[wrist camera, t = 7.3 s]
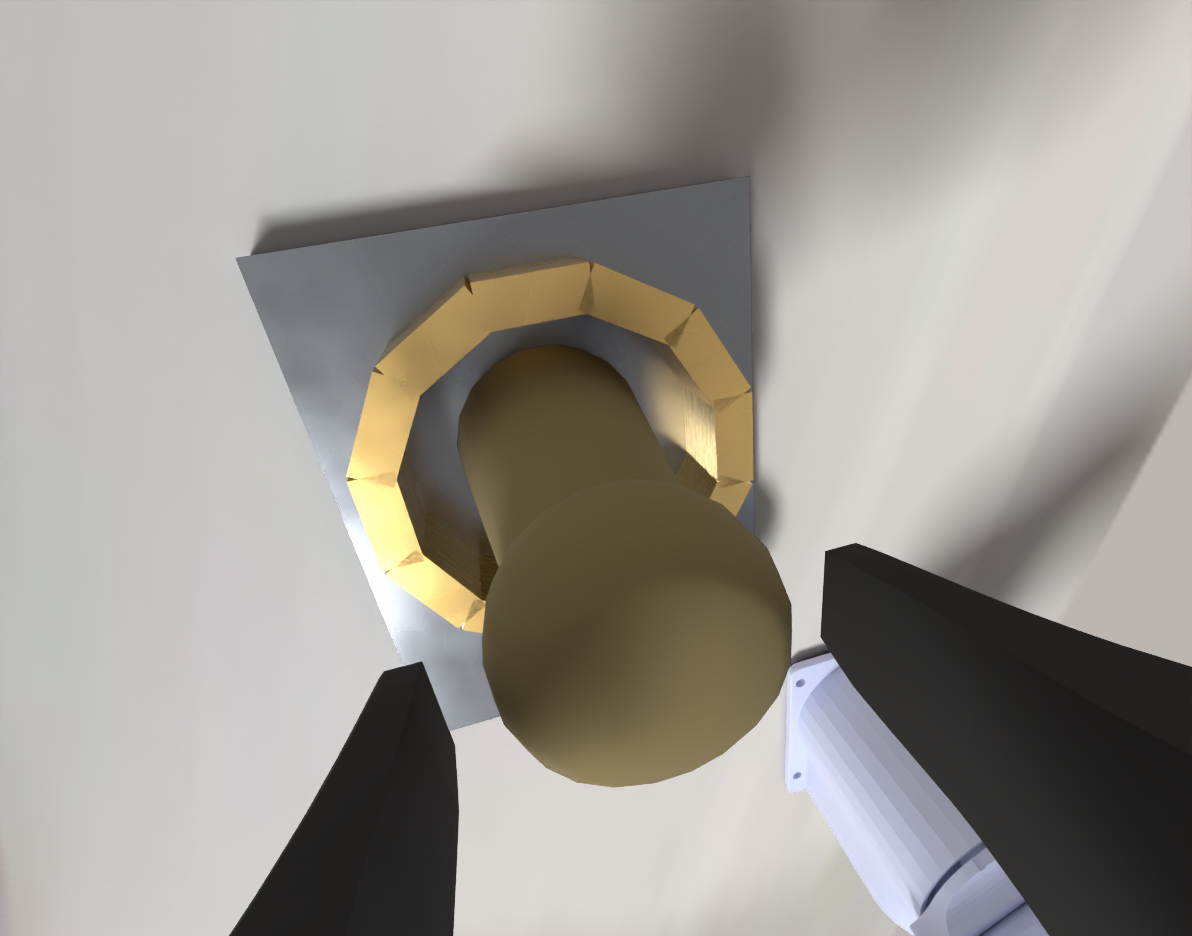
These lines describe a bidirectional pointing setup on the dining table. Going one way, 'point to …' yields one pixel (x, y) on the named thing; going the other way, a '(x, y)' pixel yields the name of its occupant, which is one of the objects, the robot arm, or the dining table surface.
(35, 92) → the dining table surface
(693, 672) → the cork
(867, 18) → the dining table surface
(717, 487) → the flanged metal plate
